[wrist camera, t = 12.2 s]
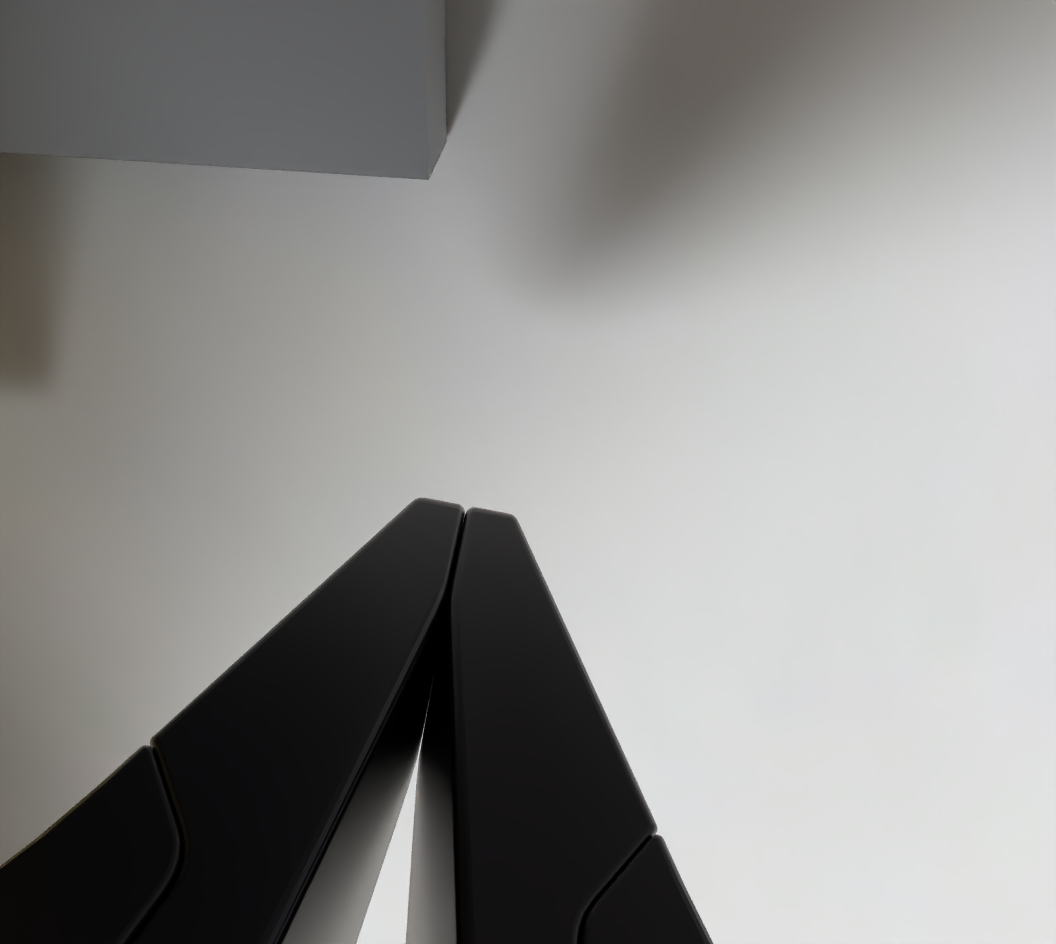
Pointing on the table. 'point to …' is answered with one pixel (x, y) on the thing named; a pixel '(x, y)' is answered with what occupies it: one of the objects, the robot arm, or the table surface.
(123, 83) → the nut base
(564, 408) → the table surface
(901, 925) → the table surface
